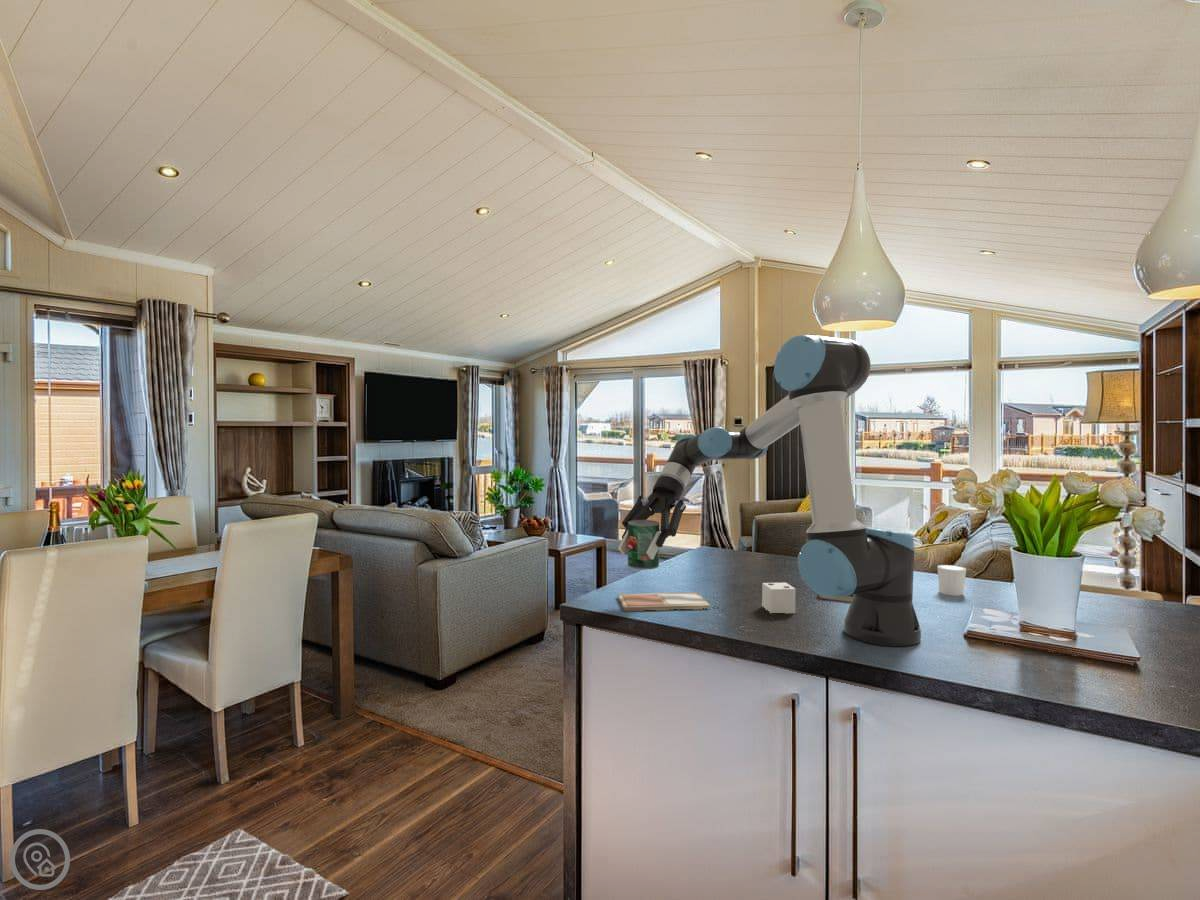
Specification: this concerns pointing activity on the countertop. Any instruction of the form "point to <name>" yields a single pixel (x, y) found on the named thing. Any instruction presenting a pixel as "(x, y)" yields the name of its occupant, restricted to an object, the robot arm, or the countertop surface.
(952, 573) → the white short cylinder
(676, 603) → the game board
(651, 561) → the canned tomato
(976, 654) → the countertop surface
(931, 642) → the countertop surface
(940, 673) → the countertop surface
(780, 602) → the die
